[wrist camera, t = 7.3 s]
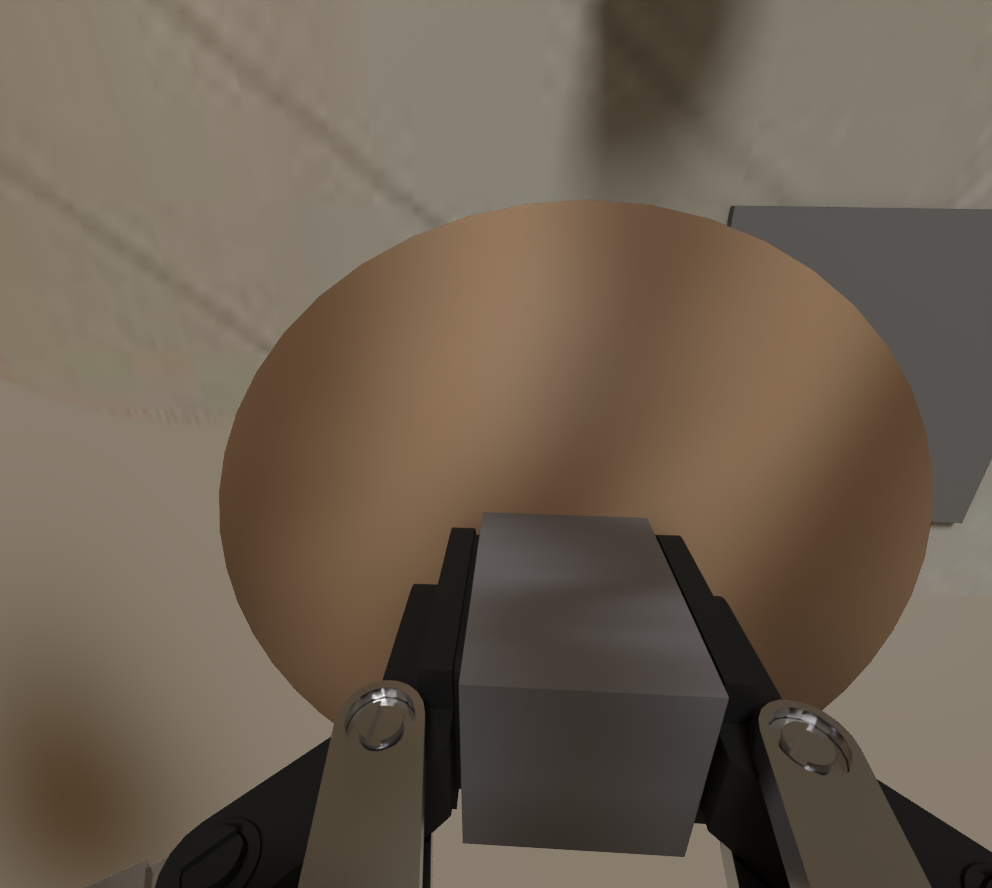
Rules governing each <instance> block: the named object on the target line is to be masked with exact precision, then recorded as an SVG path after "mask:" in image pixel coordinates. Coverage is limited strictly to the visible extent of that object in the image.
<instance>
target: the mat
mask: <svg viewBox="0 0 992 888" xmlns="http://www.w3.org/2000/svg"><path fill="white" fill-rule="evenodd" d="M727 226H729V227H731V228H734V229H736V230H739V231H741V232H743V233H746V234H748V235H751V236H753V237H756V238H758V239H761V240H763V241H765V242H767V243H769V244H770V245H772V246H774V247H775V248H777V249H779V250H780V251H782V252H784V253H785V254H787V255H789V256H790V257H792V258H794V259H795V260H797V261H799V262H800V263H802V264H804V265H805V266H807V267H809V268H810V269H812V270H813V271H815V272H816V273H817V274H818V275H819V276H820V277H822V278H823V279H824V280H825V281H826V282H827V283H829V284H830V285H831V286H832V287H833V288H834V289H836V290H837V291H838V292H839V293H840V294H841V295H843V296H844V297H845V298H846V299H847V300H848V301H850V302H851V303H852V304H853V305H854V306H855V307H856V308H857V309H858V311H859V312H860V313H861V314H862V315H863V317H864V318H865V319H866V320H867V321H868V323H869V324H870V325H871V326H872V327H873V329H874V330H875V331H876V332H877V334H878V335H879V336H880V337H881V338H882V340H883V341H884V342H885V343H886V344H887V346H888V348H889V349H890V351H891V353H892V355H893V357H894V358H895V360H896V362H897V364H898V365H899V367H900V369H901V371H902V373H903V374H904V376H905V378H906V380H907V381H908V383H909V385H910V387H911V389H912V392H913V395H914V398H915V401H916V404H917V406H918V409H919V412H920V415H921V418H922V421H923V424H924V427H925V429H926V434H927V441H928V447H929V453H930V459H931V466H932V472H933V496H932V520H931V522H946V523H962V522H963V519H964V517H965V515H966V513H967V511H968V509H969V507H970V504H971V502H972V500H973V498H974V496H975V494H976V491H977V489H978V487H979V485H980V483H981V481H982V479H983V476H984V474H985V472H986V470H987V468H988V466H989V463H990V461H991V459H992V210H986V209H918V208H850V207H783V206H731V209H730V214H729V220H728V225H727Z"/></svg>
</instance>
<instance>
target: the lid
mask: <svg viewBox="0 0 992 888" xmlns="http://www.w3.org/2000/svg"><path fill="white" fill-rule="evenodd" d="M932 496H933V472H932V466H931V459H930V453H929V447H928V441H927V434H926V429H925V427H924V424H923V421H922V418H921V415H920V412H919V409H918V406H917V404H916V401H915V398H914V395H913V392H912V389H911V387H910V385H909V383H908V381H907V380H906V378H905V376H904V374H903V373H902V371H901V369H900V367H899V365H898V364H897V362H896V360H895V358H894V357H893V355H892V353H891V351H890V349H889V348H888V346H887V344H886V343H885V342H884V341H883V340H882V338H881V337H880V336H879V335H878V334H877V332H876V331H875V330H874V329H873V327H872V326H871V325H870V324H869V323H868V321H867V320H866V319H865V318H864V317H863V315H862V314H861V313H860V312H859V311H858V309H857V308H856V307H855V306H854V305H853V304H852V303H851V302H850V301H848V300H847V299H846V298H845V297H844V296H843V295H841V294H840V293H839V292H838V291H837V290H836V289H834V288H833V287H832V286H831V285H830V284H829V283H827V282H826V281H825V280H824V279H823V278H822V277H820V276H819V275H818V274H817V273H816V272H815V271H813V270H812V269H810V268H809V267H807V266H805V265H804V264H802V263H800V262H799V261H797V260H795V259H794V258H792V257H790V256H789V255H787V254H785V253H784V252H782V251H780V250H779V249H777V248H775V247H774V246H772V245H770V244H769V243H767V242H765V241H763V240H761V239H758V238H756V237H753V236H751V235H748V234H746V233H743V232H741V231H739V230H736V229H734V228H731V227H729V226H726V225H724V224H721V223H719V222H716V221H714V220H711V219H708V218H704V217H700V216H695V215H691V214H687V213H683V212H678V211H674V210H670V209H665V208H661V207H657V206H653V205H645V204H632V203H620V202H608V201H596V200H580V201H564V202H548V203H533V204H524V205H519V206H515V207H510V208H505V209H500V210H496V211H491V212H486V213H481V214H477V215H472V216H467V217H465V218H462V219H459V220H456V221H454V222H451V223H448V224H446V225H443V226H440V227H437V228H435V229H432V230H429V231H427V232H424V233H421V234H418V235H416V236H413V237H411V238H409V239H407V240H405V241H403V242H402V243H400V244H398V245H396V246H394V247H392V248H391V249H389V250H387V251H385V252H383V253H381V254H380V255H378V256H376V257H374V258H372V259H370V260H369V261H367V262H365V263H363V264H362V265H360V266H359V267H358V268H356V269H355V270H354V271H352V272H351V273H350V274H348V275H347V276H346V277H344V278H343V279H342V280H340V281H339V282H338V283H336V284H335V285H334V286H332V287H331V288H330V289H329V290H327V291H326V292H325V293H323V294H322V295H321V296H319V297H318V298H317V299H316V300H315V301H314V302H313V304H312V305H311V306H310V307H309V308H308V309H307V310H306V311H305V312H304V313H303V314H302V315H301V316H300V317H299V318H298V319H297V320H296V321H295V322H294V323H293V324H292V325H291V326H290V327H289V328H288V329H287V330H286V331H285V332H284V334H283V335H282V337H281V338H280V339H279V341H278V342H277V344H276V345H275V346H274V348H273V349H272V351H271V352H270V354H269V355H268V356H267V358H266V359H265V361H264V362H263V363H262V365H261V366H260V368H259V369H258V371H257V372H256V374H255V376H254V378H253V380H252V382H251V384H250V386H249V388H248V390H247V393H246V395H245V397H244V399H243V401H242V403H241V405H240V407H239V409H238V411H237V414H236V417H235V420H234V423H233V427H232V430H231V433H230V437H229V440H228V443H227V447H226V450H225V454H224V461H223V469H222V476H221V483H220V490H219V504H220V534H221V539H222V545H223V551H224V556H225V562H226V568H227V571H228V574H229V577H230V580H231V583H232V586H233V589H234V592H235V595H236V598H237V601H238V603H239V606H240V608H241V610H242V612H243V614H244V616H245V618H246V620H247V622H248V624H249V626H250V628H251V630H252V632H253V634H254V636H255V637H256V639H257V640H258V642H259V643H260V645H261V646H262V648H263V649H264V651H265V652H266V654H267V655H268V657H269V658H270V660H271V661H272V663H273V664H274V665H275V666H276V668H277V669H278V670H279V671H280V672H281V673H282V675H283V676H284V677H285V678H286V679H287V680H288V682H289V683H290V684H291V685H292V686H293V688H294V689H295V690H296V691H297V692H299V694H301V695H302V696H303V697H304V698H305V699H306V700H307V701H308V702H309V703H310V704H311V705H313V706H314V708H316V709H317V710H318V711H319V712H320V713H321V714H323V715H324V716H325V717H326V718H328V719H329V720H330V721H332V722H333V723H334V722H335V719H336V716H337V714H338V711H339V709H340V707H341V706H342V705H343V704H344V702H345V701H346V700H347V698H348V697H349V696H351V695H352V694H353V693H354V692H356V691H357V690H358V689H360V688H362V687H364V686H366V685H368V684H370V683H374V682H378V681H382V680H383V676H384V673H385V670H386V667H387V664H388V660H389V657H390V654H391V651H392V648H393V645H394V641H395V638H396V635H397V632H398V629H399V626H400V622H401V619H402V616H403V613H404V610H405V606H406V603H407V600H408V597H409V594H410V591H411V588H412V586H413V585H414V584H437V585H438V581H439V577H440V573H441V569H442V565H443V561H444V557H445V552H446V548H447V544H448V540H449V536H450V532H451V528H452V527H457V528H475V529H476V534H477V535H480V536H479V543H478V551H477V558H476V565H475V572H474V579H473V586H472V593H471V601H470V608H469V615H468V622H467V629H466V636H465V643H464V650H463V658H462V665H461V672H460V679H459V715H460V753H461V791H462V824H463V825H462V827H463V843H470V844H485V845H501V846H518V847H533V848H550V849H565V850H582V851H598V852H614V853H630V854H647V855H662V856H679V857H684V856H685V853H686V850H687V846H688V842H689V839H690V835H691V832H692V828H693V825H694V821H695V818H696V814H697V810H698V807H699V803H700V800H701V796H702V793H703V789H704V785H705V782H706V778H707V775H708V771H709V768H710V764H711V760H712V757H713V753H714V750H715V746H716V743H717V739H718V735H719V732H720V728H721V725H722V721H723V718H724V714H725V711H726V707H727V703H728V700H729V697H728V695H727V692H726V690H725V688H724V686H723V684H722V681H721V679H720V677H719V675H718V673H717V670H716V668H715V666H714V664H713V662H712V659H711V657H710V655H709V653H708V651H707V648H706V646H705V644H704V642H703V640H702V637H701V635H700V633H699V631H698V629H697V626H696V624H695V622H694V620H693V618H692V615H691V613H690V611H689V609H688V607H687V604H686V602H685V600H684V598H683V596H682V593H681V591H680V589H679V587H678V585H677V582H676V580H675V578H674V576H673V574H672V571H671V569H670V567H669V565H668V563H667V560H666V558H665V556H664V554H663V552H662V549H661V547H660V545H659V543H658V541H657V538H656V536H655V535H679V536H681V537H682V538H683V540H684V542H685V544H686V546H687V548H688V549H689V551H690V553H691V555H692V557H693V559H694V561H695V562H696V564H697V566H698V568H699V570H700V572H701V573H702V575H703V577H704V579H705V581H706V583H707V585H708V586H709V588H710V590H711V592H712V594H713V596H721V597H723V598H724V599H725V600H726V602H727V603H728V604H729V606H730V608H731V610H732V611H733V613H734V615H735V617H736V618H737V620H738V622H739V624H740V626H741V627H742V629H743V631H744V633H745V634H746V636H747V638H748V640H749V641H750V643H751V645H752V647H753V648H754V650H755V652H756V654H757V655H758V657H759V659H760V661H761V662H762V664H763V666H764V668H765V669H766V671H767V673H768V675H769V677H770V678H771V680H772V682H773V684H774V685H775V687H776V689H777V691H778V692H779V694H780V696H781V698H782V699H783V700H795V701H798V702H802V703H805V704H809V705H811V706H813V707H815V708H817V709H819V710H821V711H822V710H823V709H824V708H825V707H826V706H827V705H829V704H830V703H831V702H832V701H833V700H834V699H835V698H837V697H838V696H839V695H840V694H841V693H842V692H844V691H845V690H846V688H847V687H848V686H849V685H850V684H851V683H852V682H853V681H854V680H855V679H856V677H857V676H858V675H859V674H860V673H861V672H862V671H863V670H864V668H866V667H867V665H868V664H869V663H870V662H871V661H872V659H873V658H874V657H875V655H876V654H877V652H878V650H879V649H880V648H881V647H882V645H883V644H884V642H885V641H886V640H887V638H888V637H889V635H890V634H891V633H892V631H893V629H894V627H895V626H896V624H897V622H898V620H899V618H900V616H901V614H902V612H903V610H904V608H905V606H906V605H907V603H908V601H909V599H910V597H911V595H912V592H913V589H914V586H915V584H916V581H917V578H918V575H919V572H920V569H921V566H922V564H923V561H924V558H925V553H926V548H927V542H928V537H929V531H930V526H931V520H932Z"/></svg>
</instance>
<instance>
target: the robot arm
mask: <svg viewBox="0 0 992 888" xmlns="http://www.w3.org/2000/svg"><path fill="white" fill-rule="evenodd" d="M479 536H480V535H477V534H476V529H475V528H457V527H452V528H451V532H450V536H449V540H448V544H447V548H446V552H445V557H444V561H443V565H442V569H441V573H440V577H439V581H438V585H437V584H414V585H413V586H412V588H411V591H410V594H409V597H408V600H407V603H406V606H405V610H404V613H403V616H402V619H401V622H400V626H399V629H398V632H397V635H396V638H395V641H394V645H393V648H392V651H391V654H390V657H389V660H388V664H387V667H386V670H385V673H384V676H383V680H382V681H378V682H374V683H370V684H368V685H366V686H364V687H362V688H360V689H358V690H357V691H356V692H354V693H353V694H352V695H351V696H349V697H348V698H347V700H346V701H345V702H344V704H343V705H342V706H341V707H340V709H339V711H338V714H337V716H336V719H335V722H334V726H333V731H332V736H331V737H330V738H328V739H327V740H325V741H324V742H322V743H321V744H319V745H318V746H316V747H315V748H313V749H312V750H310V751H309V752H307V753H306V754H305V755H303V756H301V757H300V758H298V759H297V760H295V761H294V762H292V763H291V764H289V765H288V766H287V767H285V768H283V769H282V770H280V771H279V772H278V773H276V774H274V775H273V776H271V777H270V778H268V779H267V780H265V781H264V782H262V783H261V784H259V785H258V786H256V787H255V788H253V789H252V790H250V791H249V792H247V793H246V794H244V795H243V796H241V797H240V798H238V799H237V800H235V801H234V802H232V803H231V804H229V805H228V806H226V807H225V808H223V809H222V810H220V811H219V812H217V813H216V814H214V815H213V816H211V817H210V818H208V819H207V820H205V821H204V822H202V823H201V824H200V825H198V826H197V827H196V828H195V829H194V830H192V831H191V832H190V833H189V834H187V835H186V836H185V837H184V838H183V839H182V841H181V842H180V843H179V844H178V845H177V847H176V848H175V849H174V850H173V851H172V852H171V853H170V855H169V857H168V858H166V859H164V860H162V861H160V862H157V863H155V864H153V865H151V866H150V865H149V863H148V861H147V859H146V860H144V861H142V862H140V863H137V864H135V865H133V866H131V867H129V868H127V869H125V870H122V871H120V872H118V873H116V874H114V875H112V876H109V877H107V878H105V879H103V880H101V881H99V882H97V883H94V884H92V885H90V886H88V887H86V888H432V863H433V859H432V858H433V832H434V831H435V830H436V829H437V828H438V827H439V826H440V825H441V824H442V823H443V822H444V821H446V820H447V819H448V818H449V817H450V816H451V812H452V809H457V799H458V792H459V789H461V753H460V715H459V679H460V672H461V665H462V658H463V650H464V643H465V636H466V629H467V622H468V615H469V608H470V601H471V593H472V586H473V579H474V572H475V565H476V558H477V551H478V543H479ZM655 536H656V538H657V541H658V543H659V545H660V547H661V549H662V552H663V554H664V556H665V558H666V560H667V563H668V565H669V567H670V569H671V571H672V574H673V576H674V578H675V580H676V582H677V585H678V587H679V589H680V591H681V593H682V596H683V598H684V600H685V602H686V604H687V607H688V609H689V611H690V613H691V615H692V618H693V620H694V622H695V624H696V626H697V629H698V631H699V633H700V635H701V637H702V640H703V642H704V644H705V646H706V648H707V651H708V653H709V655H710V657H711V659H712V662H713V664H714V666H715V668H716V670H717V673H718V675H719V677H720V679H721V681H722V684H723V686H724V688H725V690H726V692H727V695H728V697H729V700H728V703H727V707H726V711H725V714H724V718H723V721H722V725H721V728H720V732H719V735H718V739H717V743H716V746H715V750H714V753H713V757H712V760H711V764H710V768H709V771H708V775H707V778H706V782H705V785H704V789H703V793H702V796H701V800H700V803H699V807H698V810H697V814H696V818H695V821H694V823H700V824H706V825H707V829H708V831H709V832H710V833H711V834H712V835H714V836H715V837H716V838H717V839H718V840H719V841H720V846H721V855H722V860H723V865H724V870H725V875H726V880H727V886H728V888H992V852H990V851H989V850H987V849H986V848H984V847H983V846H981V845H979V844H978V843H976V842H975V841H973V840H972V839H970V838H968V837H967V836H965V835H964V834H962V833H961V832H959V831H957V830H956V829H954V828H953V827H951V826H950V825H948V824H946V823H945V822H943V821H942V820H940V819H939V818H937V817H935V816H934V815H932V814H931V813H929V812H928V811H926V810H924V809H923V808H921V807H920V806H918V805H917V804H915V803H913V802H912V801H910V800H909V799H907V798H906V797H904V796H902V795H901V794H899V793H898V792H896V791H894V790H893V789H891V788H890V787H888V786H887V785H885V784H884V783H882V782H880V781H879V780H877V779H876V777H875V776H874V774H873V772H872V770H871V768H870V766H869V764H868V762H867V760H866V758H865V756H864V754H863V752H862V750H861V748H860V747H859V745H858V744H857V742H856V741H855V739H854V738H853V736H852V735H851V734H850V733H849V732H848V731H847V730H846V729H845V728H844V727H843V726H842V725H841V724H840V723H839V722H838V721H836V720H835V719H833V718H832V717H830V716H829V715H828V714H826V713H825V712H823V711H821V710H819V709H817V708H815V707H813V706H811V705H809V704H805V703H802V702H798V701H795V700H783V699H782V698H781V696H780V694H779V692H778V691H777V689H776V687H775V685H774V684H773V682H772V680H771V678H770V677H769V675H768V673H767V671H766V669H765V668H764V666H763V664H762V662H761V661H760V659H759V657H758V655H757V654H756V652H755V650H754V648H753V647H752V645H751V643H750V641H749V640H748V638H747V636H746V634H745V633H744V631H743V629H742V627H741V626H740V624H739V622H738V620H737V618H736V617H735V615H734V613H733V611H732V610H731V608H730V606H729V604H728V603H727V602H726V600H725V599H724V598H723V597H721V596H713V594H712V592H711V590H710V588H709V586H708V585H707V583H706V581H705V579H704V577H703V575H702V573H701V572H700V570H699V568H698V566H697V564H696V562H695V561H694V559H693V557H692V555H691V553H690V551H689V549H688V548H687V546H686V544H685V542H684V540H683V538H682V537H681V536H679V535H655Z"/></svg>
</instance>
